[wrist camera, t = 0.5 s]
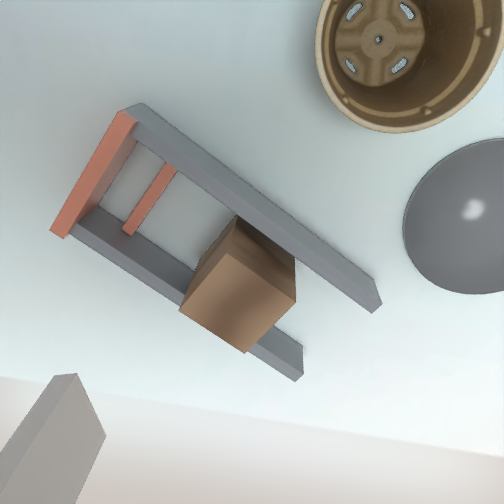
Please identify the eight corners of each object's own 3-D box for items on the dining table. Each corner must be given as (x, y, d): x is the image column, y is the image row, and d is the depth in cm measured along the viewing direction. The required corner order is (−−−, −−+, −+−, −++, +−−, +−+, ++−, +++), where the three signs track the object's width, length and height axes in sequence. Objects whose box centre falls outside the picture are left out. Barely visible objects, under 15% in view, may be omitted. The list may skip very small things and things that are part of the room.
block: (199, 260, 37) (178, 310, 30) (239, 211, 35) (226, 253, 28) (252, 297, 39) (244, 353, 31) (294, 252, 36) (296, 302, 29)
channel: (79, 207, 36) (49, 229, 31) (142, 102, 32) (118, 111, 27) (294, 352, 41) (295, 390, 36) (373, 279, 37) (385, 311, 32)
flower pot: (404, 131, 31) (442, 159, 23) (287, 84, 30) (287, 96, 23) (477, -7, 27) (552, -29, 19) (344, -66, 26) (367, -114, 19)
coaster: (369, 230, 35) (370, 234, 34) (499, 100, 30) (504, 101, 29) (475, 315, 38) (478, 320, 37) (611, 208, 32) (618, 212, 32)
